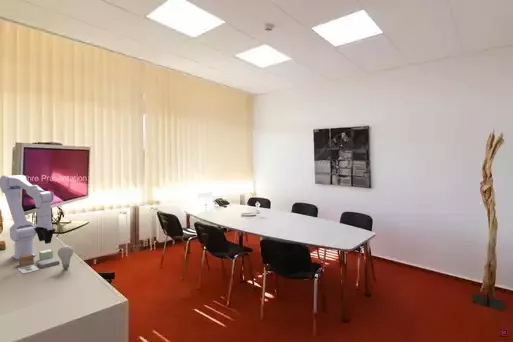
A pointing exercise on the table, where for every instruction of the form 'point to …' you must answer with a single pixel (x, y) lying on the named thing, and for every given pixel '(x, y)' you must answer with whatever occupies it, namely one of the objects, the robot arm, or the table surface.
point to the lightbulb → (65, 255)
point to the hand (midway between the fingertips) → (44, 242)
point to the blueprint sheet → (27, 269)
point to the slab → (48, 262)
